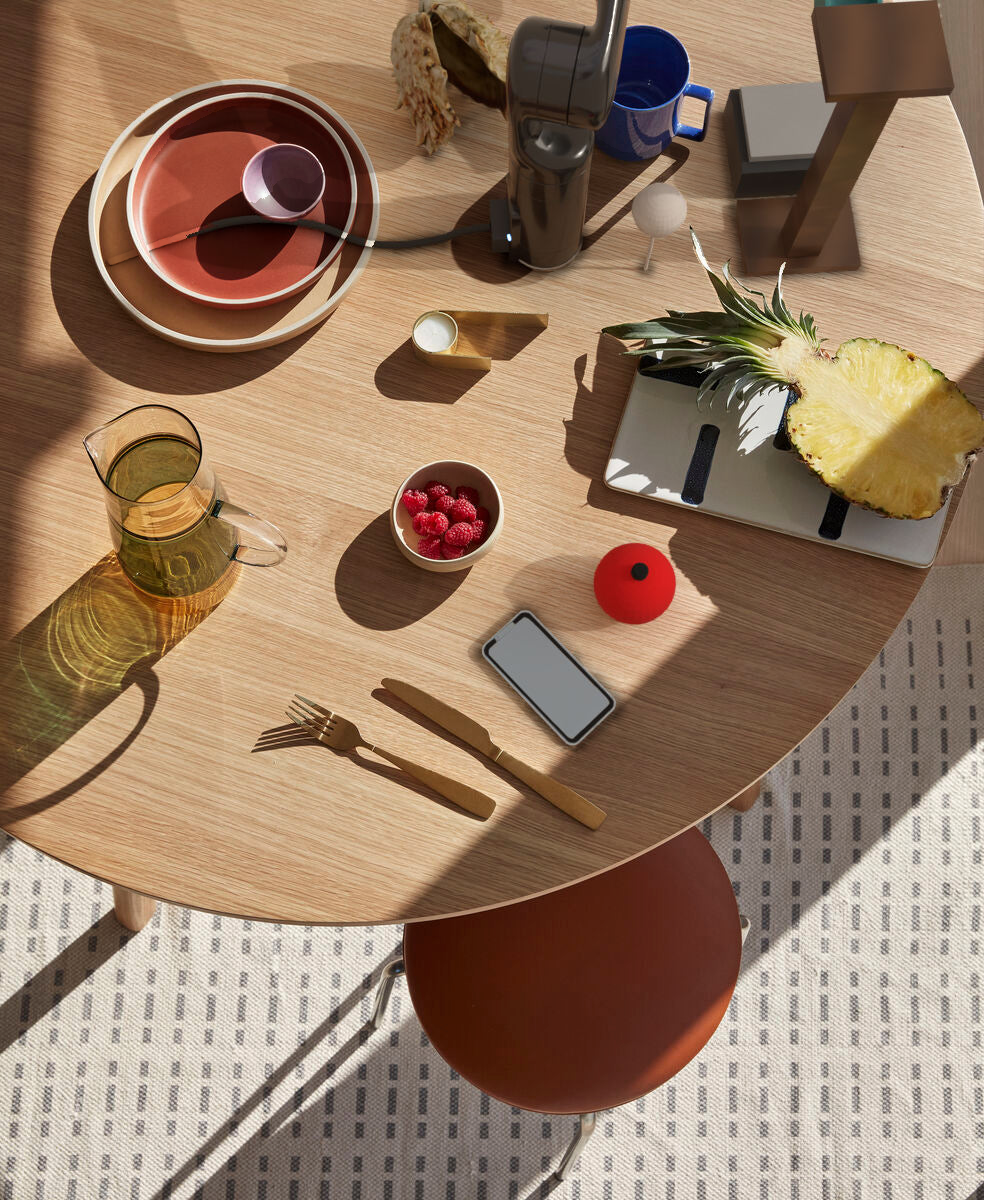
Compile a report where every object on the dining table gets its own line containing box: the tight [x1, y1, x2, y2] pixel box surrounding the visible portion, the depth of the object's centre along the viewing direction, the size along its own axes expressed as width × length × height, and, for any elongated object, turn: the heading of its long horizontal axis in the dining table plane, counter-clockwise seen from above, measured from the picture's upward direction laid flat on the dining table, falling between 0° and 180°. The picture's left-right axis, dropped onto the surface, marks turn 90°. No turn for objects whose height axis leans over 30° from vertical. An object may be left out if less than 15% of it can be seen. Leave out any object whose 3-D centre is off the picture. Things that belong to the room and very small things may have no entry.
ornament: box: [592, 542, 677, 626], centre depth 120 cm, size 9×9×10 cm
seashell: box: [389, 0, 509, 156], centre depth 133 cm, size 18×18×15 cm
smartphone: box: [481, 609, 617, 747], centre depth 122 cm, size 7×1×15 cm
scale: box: [721, 81, 837, 199], centre depth 136 cm, size 14×12×6 cm
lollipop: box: [631, 182, 688, 271], centre depth 128 cm, size 6×6×15 cm
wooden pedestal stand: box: [734, 0, 956, 278], centre depth 121 cm, size 14×10×32 cm
